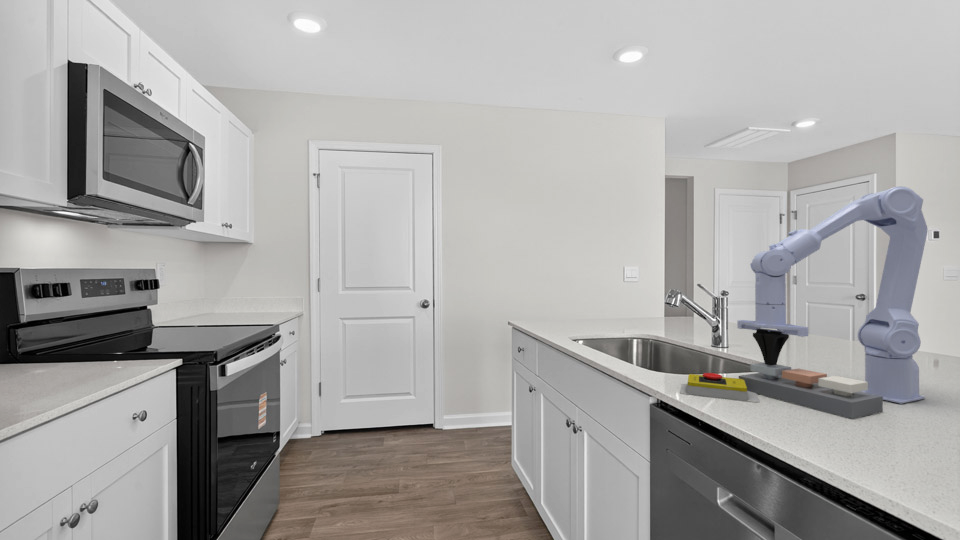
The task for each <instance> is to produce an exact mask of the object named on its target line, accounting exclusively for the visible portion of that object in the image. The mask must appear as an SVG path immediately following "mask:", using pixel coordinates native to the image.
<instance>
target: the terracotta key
mask: <svg viewBox="0 0 960 540" xmlns="http://www.w3.org/2000/svg"><path fill="white" fill-rule="evenodd" d="M824 377H828V373H824V372H818V371H812V370H808V369H803V368H793V369H792V368H791V370H784V371H782V378H785V379H790V380H794V381H796V385H798V386H803V387H812V384H814V383H818V378H824Z"/></svg>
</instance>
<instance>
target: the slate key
mask: <svg viewBox="0 0 960 540" xmlns="http://www.w3.org/2000/svg"><path fill="white" fill-rule="evenodd" d="M749 367H750V371H751V372H753V373H754V372H755V373H763V378H768V379H772V380H774V379H778V376H780V375H782V371H784V370H792V366H788V365H784V364H783V365H782V364H778V363H777V365H766V364H765V362H760V363H759V362H758V363H751V364H750V366H749Z"/></svg>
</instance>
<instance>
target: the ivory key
mask: <svg viewBox="0 0 960 540" xmlns="http://www.w3.org/2000/svg"><path fill="white" fill-rule="evenodd" d="M818 386H821V387H826V388H830V389H834V394H838V395H842V396H852V393H854V392H860V391H865V390H868V382H865V380H864V381H863V380H859V379H854V378H849V377H844V376H838V375H831V376H827V377H824V378H818Z"/></svg>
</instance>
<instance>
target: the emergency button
mask: <svg viewBox="0 0 960 540" xmlns="http://www.w3.org/2000/svg"><path fill="white" fill-rule="evenodd" d="M679 393H680V394H681V395H686V396H687V395H688V396H693V397H704V398H710V399H711V398H713V399H719V400H720V399H721V400H728V401H739V402H746V403H755V404H756V403H760V398H759V397H758V394H756V393H754V392H750V391H747V387H746V384H745V381H744V380H743V379H739V378H737V377H726V376H723V375H721V374H720V373H714V372H713V373H712V372H704V373H703V374H695V373H694V374H693V373H690V374H689V373H688V377H687V383H681V384H680V390H679Z"/></svg>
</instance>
